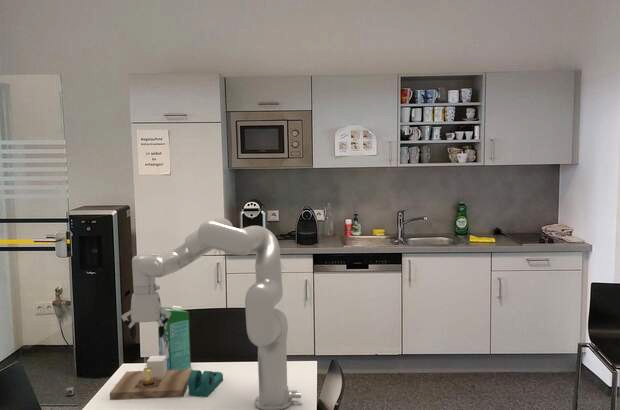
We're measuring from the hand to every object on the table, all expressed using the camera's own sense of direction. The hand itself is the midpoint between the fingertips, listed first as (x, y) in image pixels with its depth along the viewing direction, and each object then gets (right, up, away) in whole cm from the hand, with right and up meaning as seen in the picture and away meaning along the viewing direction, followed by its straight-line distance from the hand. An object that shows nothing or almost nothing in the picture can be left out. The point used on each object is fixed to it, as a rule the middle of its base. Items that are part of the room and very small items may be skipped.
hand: (147, 337), depth 194 cm
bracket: (+21, -19, +4) cm, 29 cm away
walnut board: (+1, -19, +4) cm, 20 cm away
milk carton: (+4, -18, +24) cm, 30 cm away
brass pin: (0, -19, +1) cm, 20 cm away
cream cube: (+1, -16, +10) cm, 19 cm away
